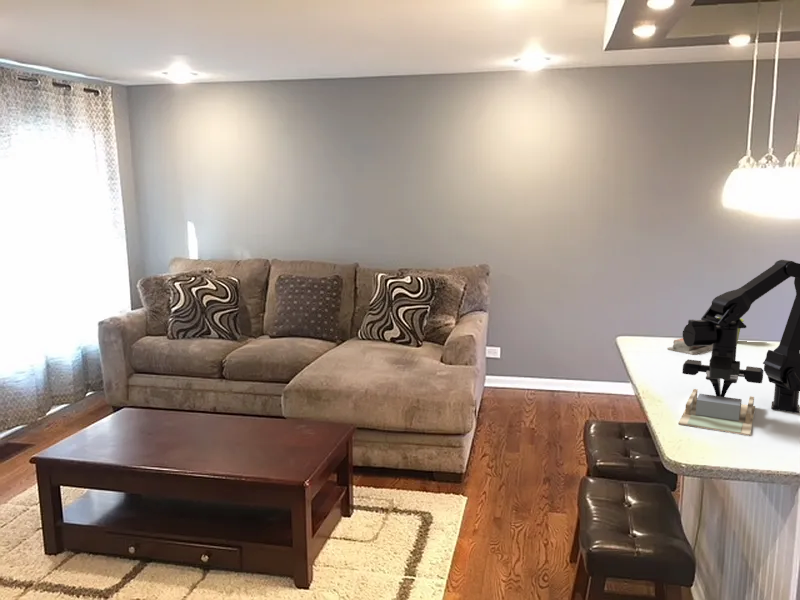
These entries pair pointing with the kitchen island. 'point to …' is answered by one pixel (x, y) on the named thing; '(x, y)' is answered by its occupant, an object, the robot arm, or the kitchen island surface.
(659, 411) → the kitchen island surface
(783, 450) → the kitchen island surface
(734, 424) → the beige wooden tray
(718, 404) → the slate block
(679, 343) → the packaged product
